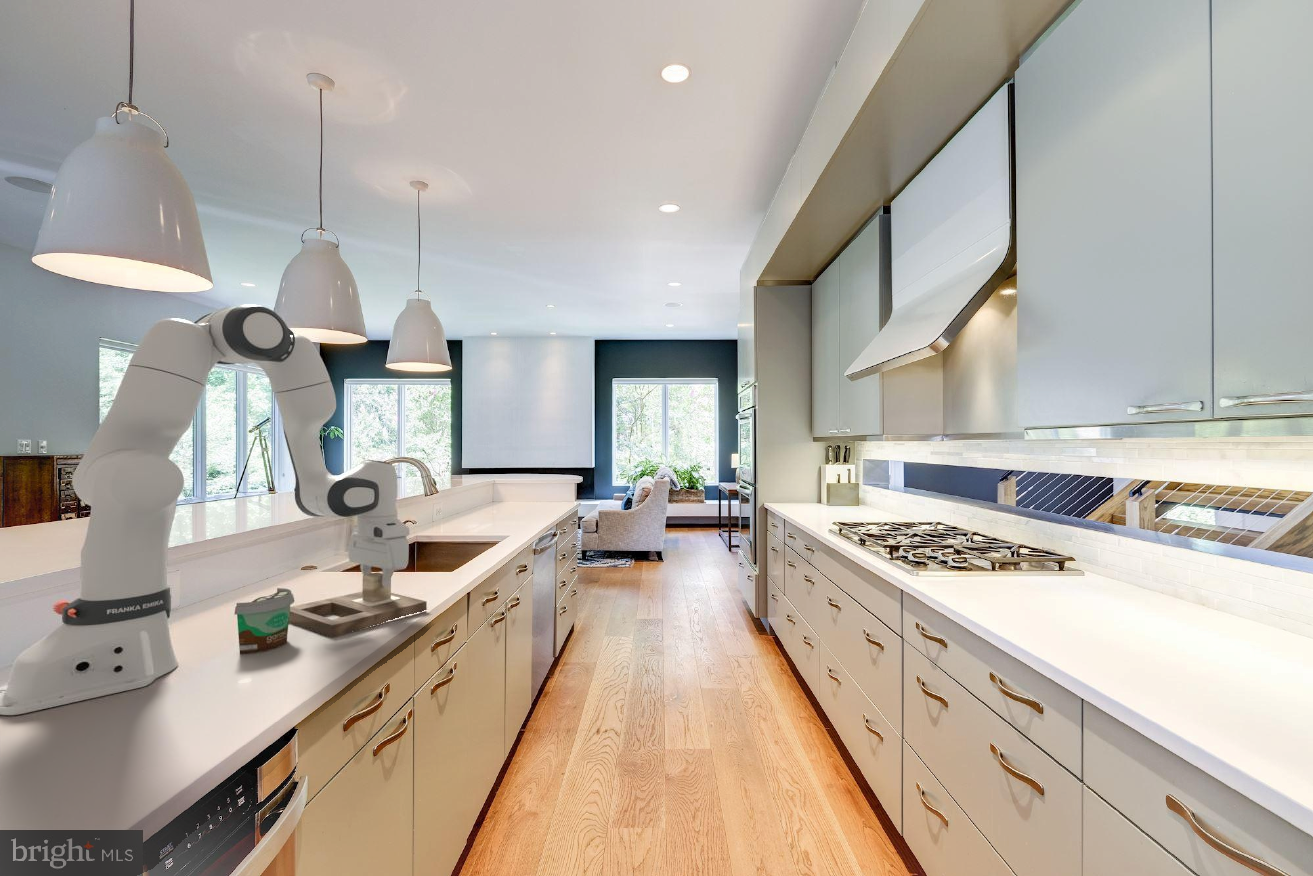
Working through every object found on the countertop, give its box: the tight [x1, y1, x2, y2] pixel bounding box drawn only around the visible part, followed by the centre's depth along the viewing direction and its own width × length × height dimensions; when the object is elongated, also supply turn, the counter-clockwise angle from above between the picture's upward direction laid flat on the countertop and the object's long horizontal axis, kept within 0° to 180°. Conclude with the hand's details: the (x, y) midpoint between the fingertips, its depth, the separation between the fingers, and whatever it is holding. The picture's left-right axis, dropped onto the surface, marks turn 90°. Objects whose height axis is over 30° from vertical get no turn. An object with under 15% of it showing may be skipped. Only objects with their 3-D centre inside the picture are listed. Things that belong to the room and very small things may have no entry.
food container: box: [234, 587, 295, 655], centre depth 113 cm, size 12×6×10 cm, turn 179°
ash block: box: [362, 571, 392, 603], centre depth 137 cm, size 4×4×6 cm
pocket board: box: [289, 590, 428, 638], centre depth 133 cm, size 22×22×3 cm
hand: (376, 584), depth 137 cm, fingers open, 6 cm apart
